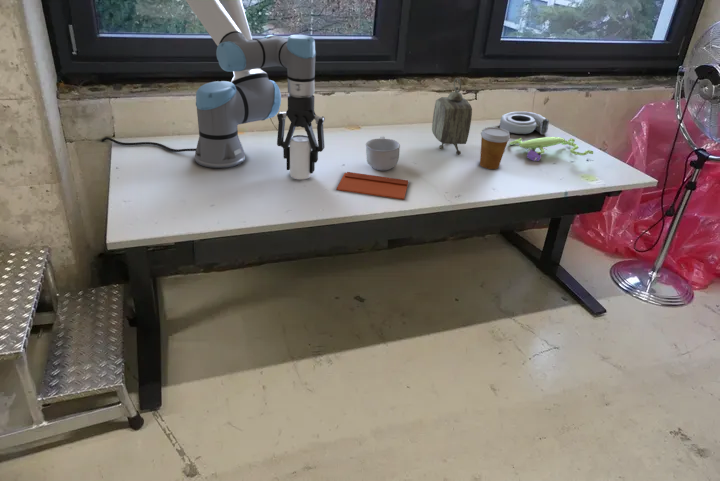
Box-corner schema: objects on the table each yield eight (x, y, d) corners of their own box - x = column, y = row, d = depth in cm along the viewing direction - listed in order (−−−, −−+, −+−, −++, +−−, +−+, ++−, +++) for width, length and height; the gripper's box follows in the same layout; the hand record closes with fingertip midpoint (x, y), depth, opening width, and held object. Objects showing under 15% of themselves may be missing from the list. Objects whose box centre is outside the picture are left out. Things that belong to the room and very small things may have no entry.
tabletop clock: (464, 157, 186) (477, 85, 174) (439, 157, 185) (450, 84, 172) (452, 142, 199) (463, 73, 186) (428, 141, 197) (438, 72, 184)
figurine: (593, 167, 187) (598, 152, 184) (516, 161, 187) (520, 146, 184) (577, 147, 202) (581, 133, 200) (506, 142, 202) (509, 127, 200)
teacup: (394, 175, 169) (397, 151, 165) (361, 170, 170) (363, 147, 166) (400, 159, 181) (403, 136, 177) (369, 155, 182) (371, 132, 178)
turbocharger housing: (492, 126, 221) (509, 139, 209) (494, 110, 218) (511, 123, 205) (530, 122, 224) (548, 135, 212) (532, 107, 221) (551, 119, 209)
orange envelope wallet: (336, 190, 157) (336, 187, 157) (344, 174, 168) (344, 171, 167) (403, 199, 155) (404, 196, 154) (408, 182, 165) (408, 180, 165)
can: (294, 181, 160) (294, 143, 154) (286, 173, 165) (286, 135, 159) (314, 178, 163) (315, 140, 157) (306, 170, 168) (306, 133, 161)
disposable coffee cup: (506, 164, 184) (513, 130, 178) (500, 173, 176) (507, 138, 170) (478, 158, 187) (485, 124, 181) (471, 167, 179) (478, 132, 173)
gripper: (263, 93, 149) (265, 170, 161) (331, 101, 147) (328, 179, 158) (272, 87, 156) (273, 161, 167) (337, 94, 153) (334, 169, 165)
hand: (300, 170), depth 163 cm, fingers closed on can, 6 cm apart
